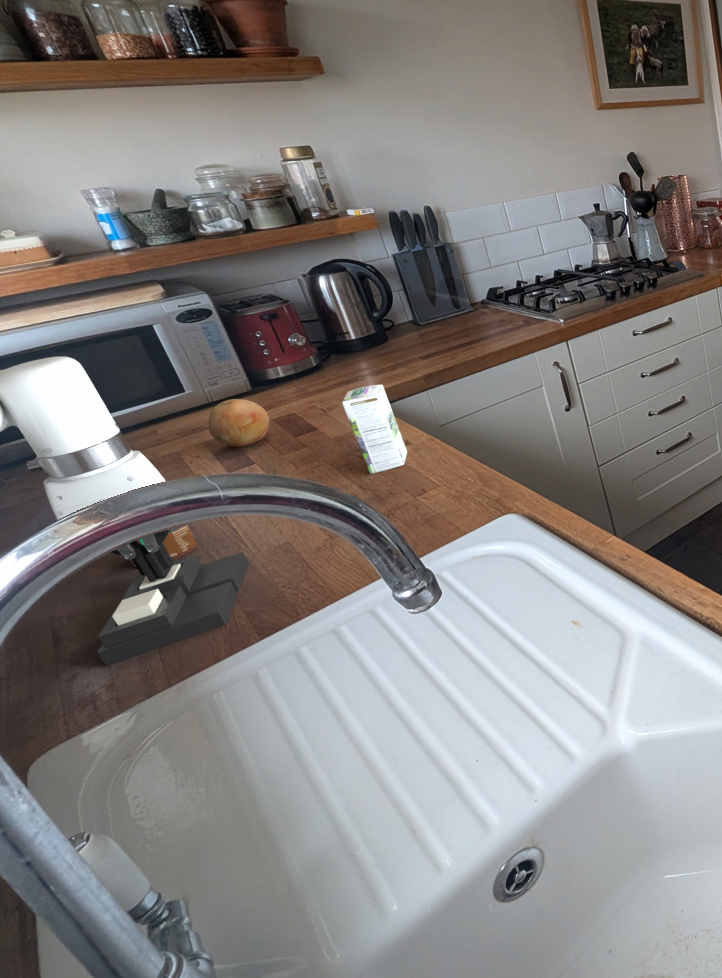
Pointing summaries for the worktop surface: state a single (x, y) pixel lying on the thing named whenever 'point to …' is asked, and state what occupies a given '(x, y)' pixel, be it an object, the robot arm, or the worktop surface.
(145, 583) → the key rear
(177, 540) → the food container
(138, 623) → the key block
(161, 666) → the worktop surface
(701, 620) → the worktop surface
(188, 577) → the key block
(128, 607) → the key front
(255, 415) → the onion
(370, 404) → the syrup box
